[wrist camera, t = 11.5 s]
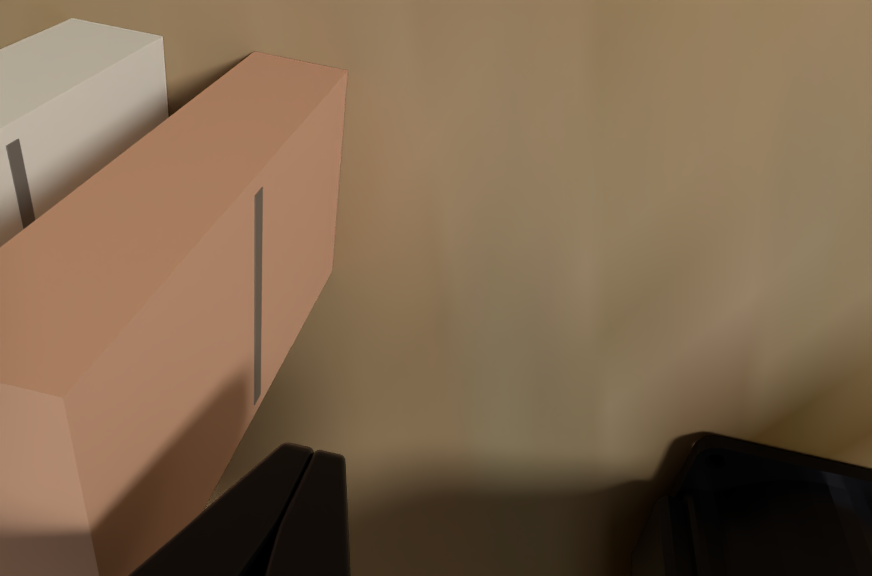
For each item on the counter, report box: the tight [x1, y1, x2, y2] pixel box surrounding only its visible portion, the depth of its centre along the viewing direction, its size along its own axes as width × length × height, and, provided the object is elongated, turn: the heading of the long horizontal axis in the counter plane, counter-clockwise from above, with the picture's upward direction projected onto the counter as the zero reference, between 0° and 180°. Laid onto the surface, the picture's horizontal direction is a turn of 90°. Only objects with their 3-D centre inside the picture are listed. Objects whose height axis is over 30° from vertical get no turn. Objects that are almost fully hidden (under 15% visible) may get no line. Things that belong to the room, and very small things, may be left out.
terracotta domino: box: [0, 52, 348, 576], centre depth 13 cm, size 2×5×10 cm, turn 171°
